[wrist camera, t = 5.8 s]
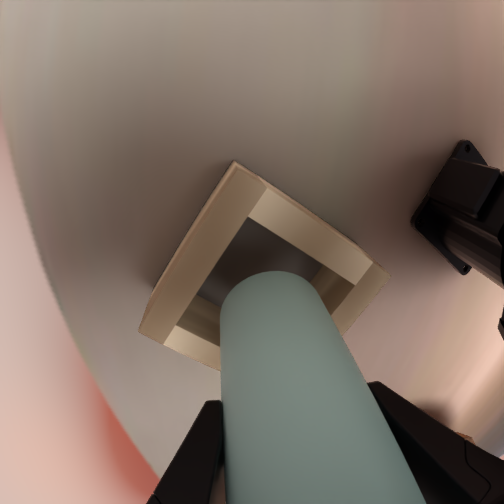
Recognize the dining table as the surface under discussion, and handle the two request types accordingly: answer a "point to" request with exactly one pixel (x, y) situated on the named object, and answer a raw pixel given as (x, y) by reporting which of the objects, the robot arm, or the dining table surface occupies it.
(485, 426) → the dining table surface
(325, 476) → the peg
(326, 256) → the socket
